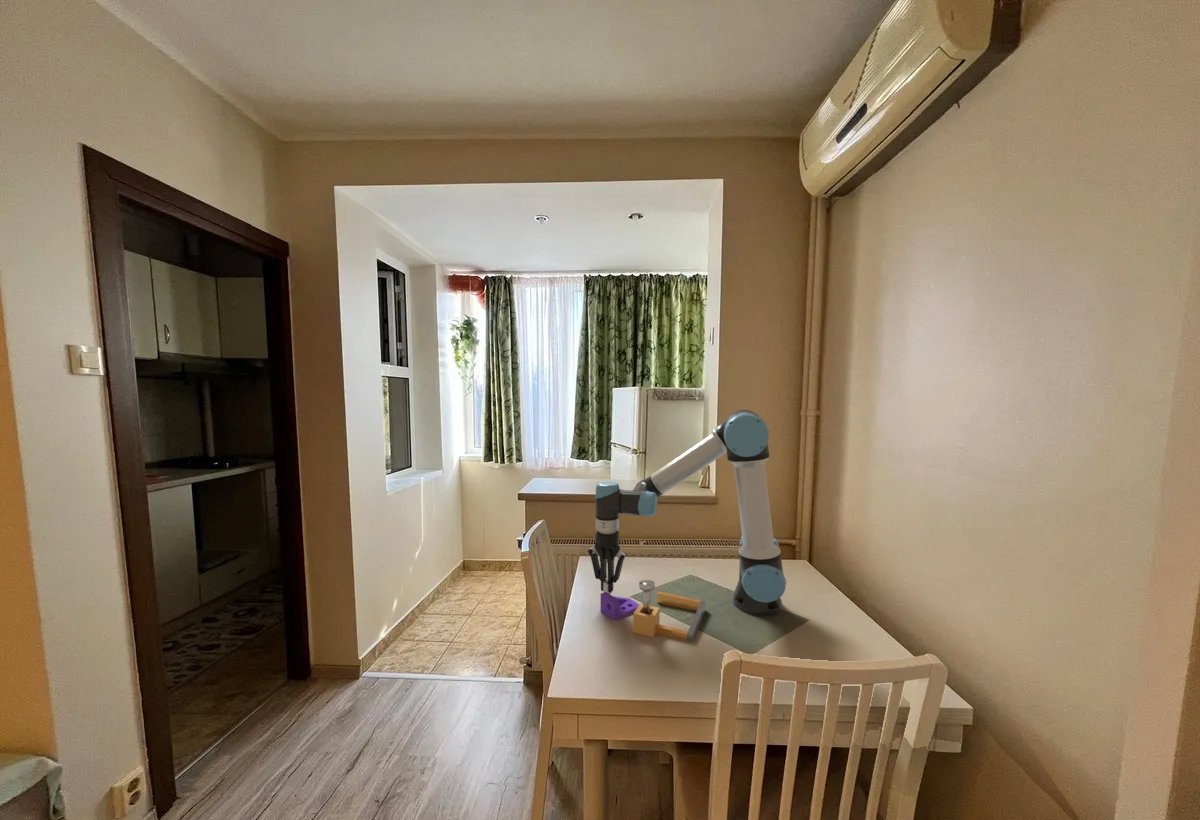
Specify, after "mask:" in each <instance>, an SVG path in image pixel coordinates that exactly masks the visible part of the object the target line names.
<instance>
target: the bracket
mask: <svg viewBox="0 0 1200 820" xmlns="http://www.w3.org/2000/svg"><path fill="white" fill-rule="evenodd" d="M639 605H640V603H638V602H636V601H635V600H633V599H631V598H630V597H623V596H622V597H621V596H614V595H612V594H611V595H610V594H608V593H607V592H604V593H603V592H601V593H600V611H599V612H601V613H602V614H604V615H605V616H607V617H609V619H612V620H613V621H616V620H619V619H621V618H624V617H626V616H629V615H631V614H632V615H633V613H634V612H635V610H636V609H637V607H638V606H639Z"/></svg>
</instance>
